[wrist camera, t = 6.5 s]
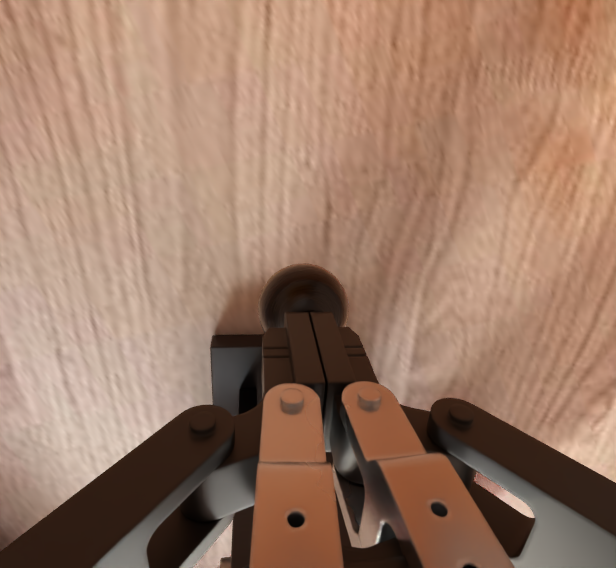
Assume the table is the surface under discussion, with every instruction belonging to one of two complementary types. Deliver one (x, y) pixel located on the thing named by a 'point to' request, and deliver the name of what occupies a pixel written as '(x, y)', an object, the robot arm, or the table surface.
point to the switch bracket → (236, 400)
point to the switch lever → (301, 295)
